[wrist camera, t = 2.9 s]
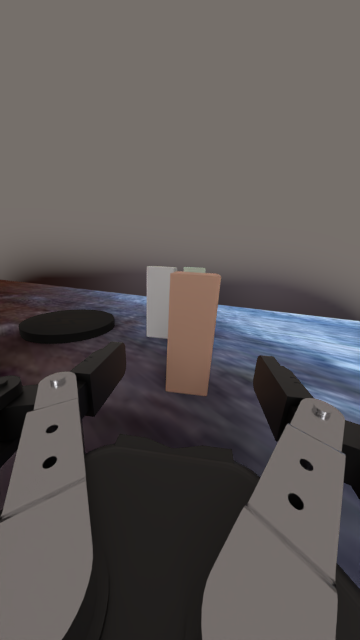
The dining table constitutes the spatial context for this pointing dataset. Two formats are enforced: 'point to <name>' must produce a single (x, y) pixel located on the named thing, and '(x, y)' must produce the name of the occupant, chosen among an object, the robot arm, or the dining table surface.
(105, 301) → the dining table surface
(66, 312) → the wireless charger
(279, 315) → the dining table surface
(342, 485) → the robot arm
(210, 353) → the terracotta block
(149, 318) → the light grey block
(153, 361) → the dining table surface
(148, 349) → the dining table surface
